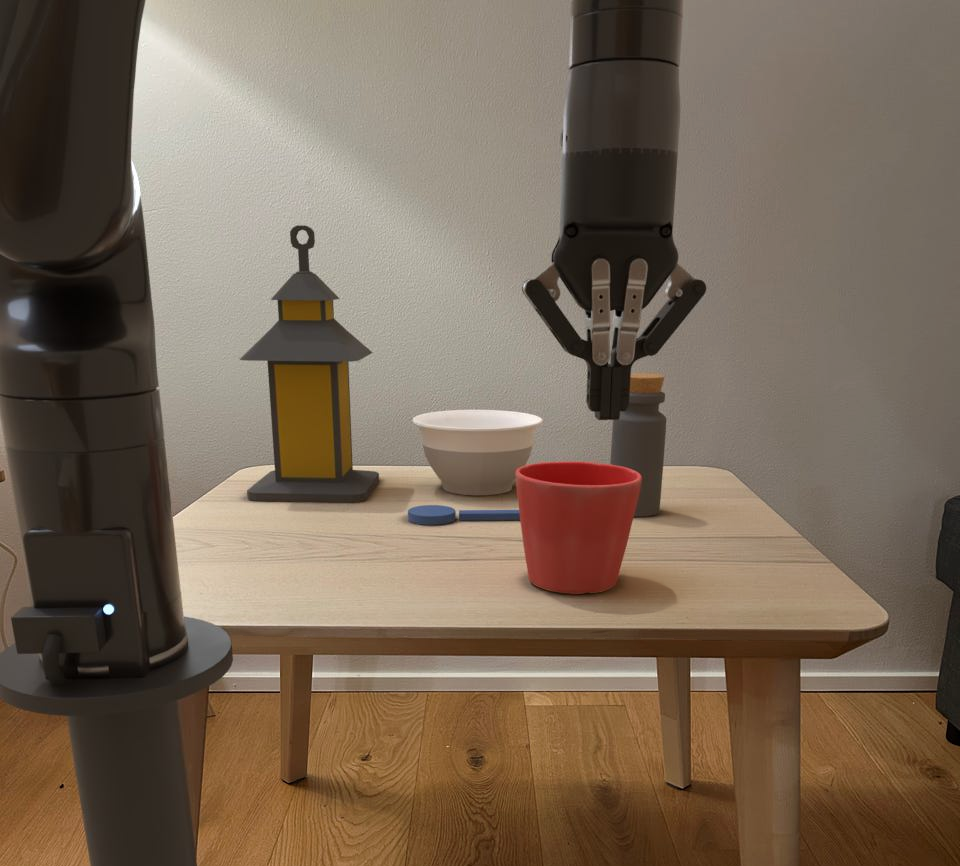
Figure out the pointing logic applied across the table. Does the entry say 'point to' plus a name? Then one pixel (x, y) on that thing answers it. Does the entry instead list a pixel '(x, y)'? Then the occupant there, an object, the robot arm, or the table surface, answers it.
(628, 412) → the bottle
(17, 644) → the robot arm
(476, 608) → the table surface
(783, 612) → the table surface
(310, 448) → the lantern
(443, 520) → the spoon
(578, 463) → the flower pot
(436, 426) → the bowl
